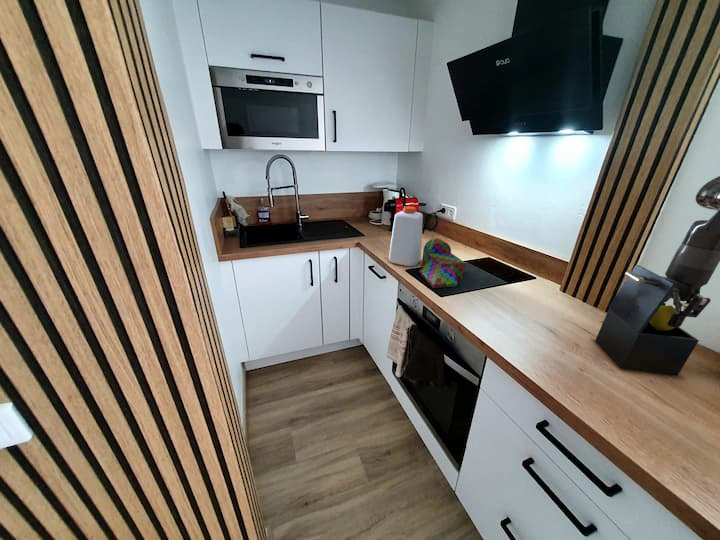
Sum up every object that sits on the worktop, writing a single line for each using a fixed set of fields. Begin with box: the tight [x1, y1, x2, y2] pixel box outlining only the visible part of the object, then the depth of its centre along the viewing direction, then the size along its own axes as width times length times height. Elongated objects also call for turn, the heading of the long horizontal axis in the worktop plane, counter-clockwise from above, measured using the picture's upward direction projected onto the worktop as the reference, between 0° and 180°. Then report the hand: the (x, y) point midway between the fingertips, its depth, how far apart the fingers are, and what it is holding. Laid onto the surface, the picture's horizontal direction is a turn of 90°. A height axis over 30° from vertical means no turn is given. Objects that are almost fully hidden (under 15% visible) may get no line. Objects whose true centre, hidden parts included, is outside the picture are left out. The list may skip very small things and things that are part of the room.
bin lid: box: [608, 264, 677, 332], centre depth 77 cm, size 14×13×5 cm
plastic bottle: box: [388, 206, 424, 267], centre depth 144 cm, size 15×15×28 cm
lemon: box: [650, 304, 675, 331], centre depth 78 cm, size 6×6×8 cm
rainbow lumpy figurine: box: [418, 237, 466, 289], centre depth 132 cm, size 25×17×14 cm
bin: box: [594, 308, 700, 377], centre depth 81 cm, size 14×13×12 cm
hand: (663, 319), depth 78 cm, fingers closed on lemon, 5 cm apart
